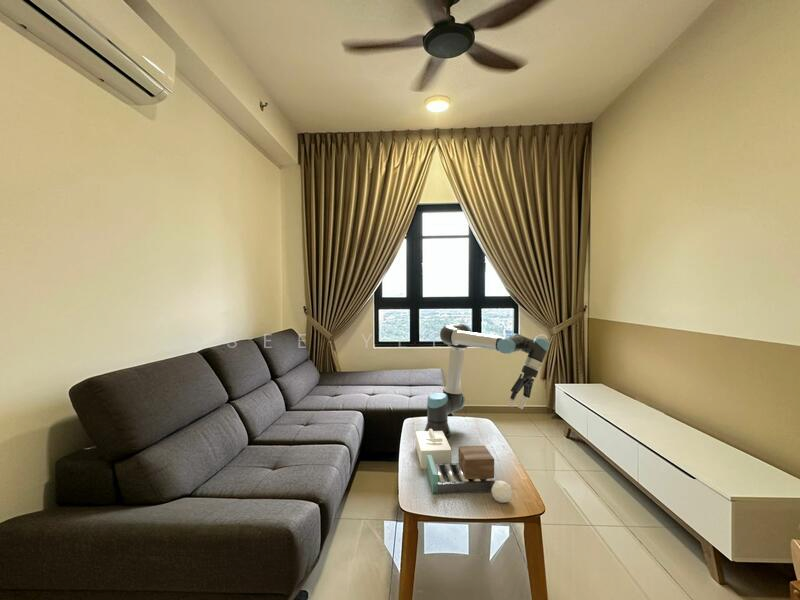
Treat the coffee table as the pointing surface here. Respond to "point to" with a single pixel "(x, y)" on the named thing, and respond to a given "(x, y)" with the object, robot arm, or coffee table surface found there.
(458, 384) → the robot arm
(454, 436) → the coffee table surface
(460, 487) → the roller track
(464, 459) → the brown wooden block
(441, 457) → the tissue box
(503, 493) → the geometric ball
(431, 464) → the teal stop bar
